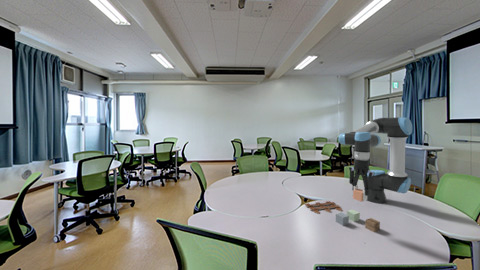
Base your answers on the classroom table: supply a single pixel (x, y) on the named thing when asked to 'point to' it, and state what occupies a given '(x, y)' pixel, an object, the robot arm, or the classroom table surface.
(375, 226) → the walnut block
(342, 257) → the classroom table surface
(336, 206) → the decorative fence
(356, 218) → the sage block
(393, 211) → the classroom table surface
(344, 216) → the slate block
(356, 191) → the terracotta block
